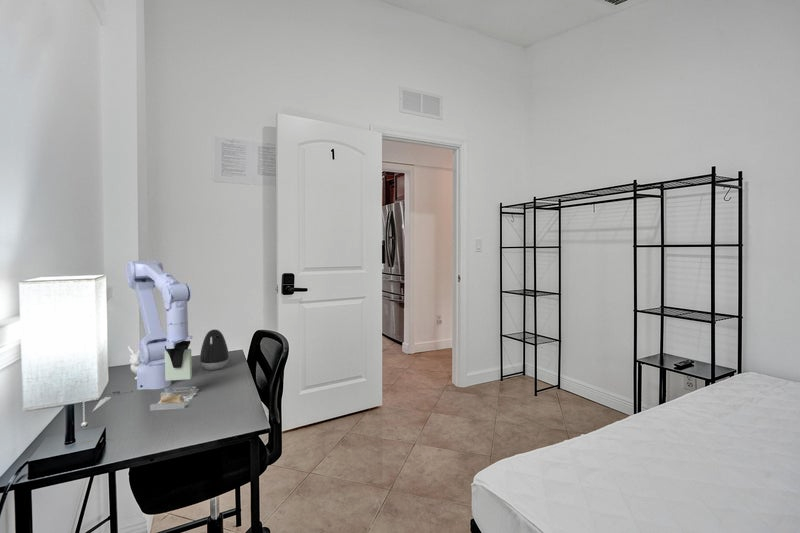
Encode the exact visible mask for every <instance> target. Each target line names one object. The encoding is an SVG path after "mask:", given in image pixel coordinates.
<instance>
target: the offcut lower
mask: <svg viewBox="0 0 800 533" xmlns="http://www.w3.org/2000/svg"><path fill="white" fill-rule="evenodd" d="M159 401H160V400H159ZM159 401H158V402H159ZM158 402H157V403H158ZM179 402H184V398H182V399H181V400H180V401H179ZM160 403H161V401H160V402H159V403H158V404H160ZM164 403H175V402H164Z"/></svg>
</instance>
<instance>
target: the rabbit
mask: <svg viewBox="0 0 800 533" xmlns="http://www.w3.org/2000/svg"><path fill="white" fill-rule="evenodd" d="M127 349H128V350H129V354H130V355H129V356H130V358H129V364H130V370H131V372H132V373H133V374H135V375H136V376H135V377H134V380H137V369H138V366H139V364H140V363H143V362H141V360H140V357H139V349H138V351H137V352H135V350H134V349H133V348H132V345H128V346H127Z"/></svg>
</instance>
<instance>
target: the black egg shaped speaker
mask: <svg viewBox="0 0 800 533" xmlns="http://www.w3.org/2000/svg"><path fill="white" fill-rule="evenodd" d="M229 357H230V355H229V349H228V344H227V342H226V339H225V337H224V334H223V333H222V332H221V330H219V329H215V328H214V329H210V330H209V331H207V333H206V334H205V337H204V338H203V342H202V344H201V347H200V354H199V361H200V364H201V365H202V367H203V368H204V369H206V370H208V371H217V370H221V369H224V367H226V365H227V363H228V360H229V359H230V358H229Z"/></svg>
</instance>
